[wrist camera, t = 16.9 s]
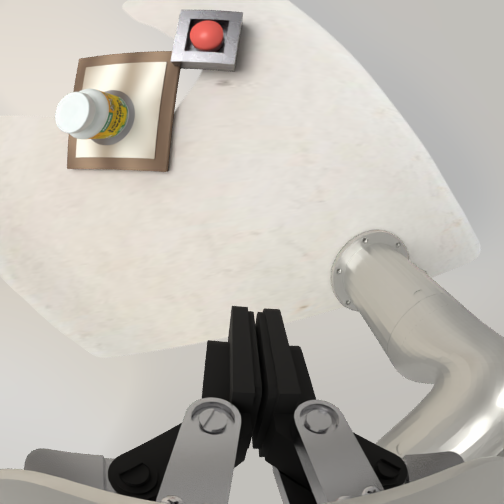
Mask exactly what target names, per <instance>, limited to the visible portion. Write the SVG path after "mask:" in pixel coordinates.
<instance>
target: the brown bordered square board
mask: <svg viewBox="0 0 504 504" xmlns="http://www.w3.org/2000/svg"><path fill="white" fill-rule="evenodd" d="M171 56H172V51H160V52H159V51H157V52H135V53H122V54H112V55H103V56H96V57H88V58H81V59H79V63H78V68H77V74H76V79H75V85H74V92H79V91H81V90H84V89H96V90H100V91H103V92H106V93H109V94H112V95H115V96H118V97H120V98H121V99H123V100H124V101H125V103H126V105H127V107H128V109H129V119H128V122H127V125H126V127H125V128H124V129H123V130H122V132H121V133H119V134H118V135H116V136H115V137H112V138H104V139H77V138H74V137H73V136H71V135H70V134H69V139H68V157H67V169H119V170H143V171H161V172H166V171H168V165H169V154H170V144H171V134H172V125H173V117H174V109H175V102H176V94H177V88H178V81H179V75H180V69H181V68H180V67H179V66H174V65H173V64H172V62H171Z"/></svg>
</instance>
